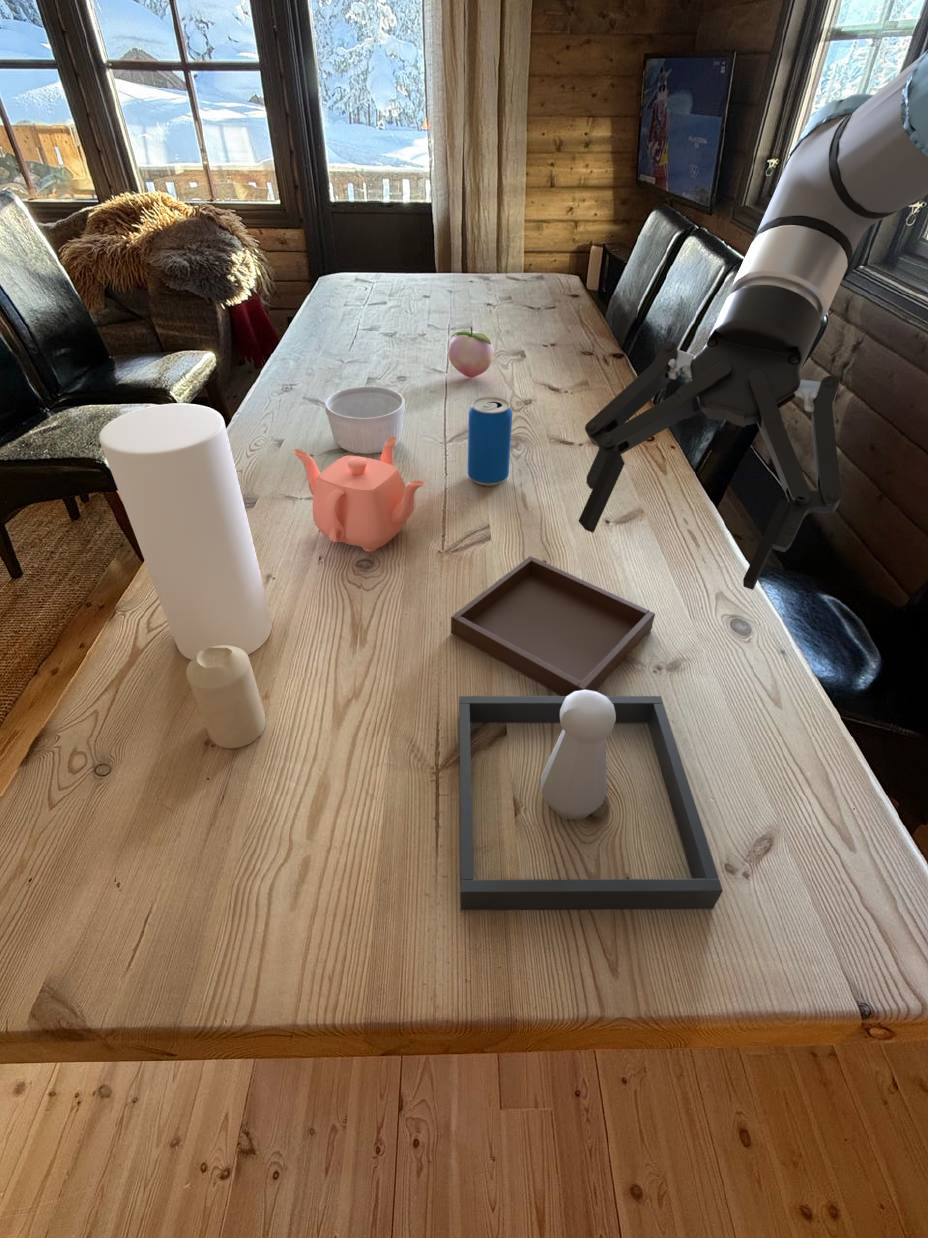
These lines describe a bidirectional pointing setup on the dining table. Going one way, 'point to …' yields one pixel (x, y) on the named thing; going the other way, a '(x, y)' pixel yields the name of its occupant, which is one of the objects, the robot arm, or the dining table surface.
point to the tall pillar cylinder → (190, 524)
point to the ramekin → (365, 418)
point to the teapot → (360, 498)
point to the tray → (553, 626)
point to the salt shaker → (579, 756)
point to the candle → (227, 695)
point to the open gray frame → (587, 891)
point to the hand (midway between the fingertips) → (662, 555)
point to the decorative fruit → (470, 352)
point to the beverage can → (489, 440)
